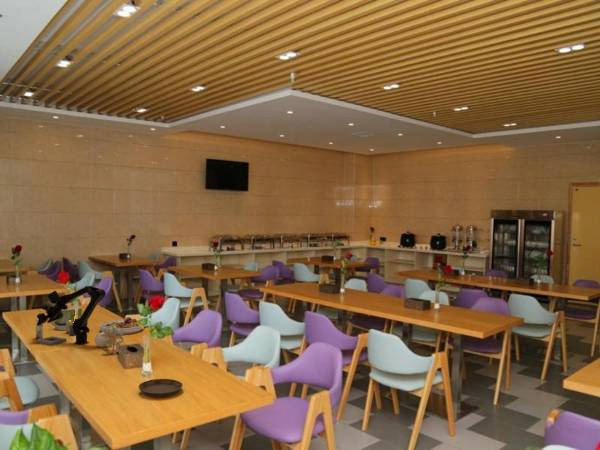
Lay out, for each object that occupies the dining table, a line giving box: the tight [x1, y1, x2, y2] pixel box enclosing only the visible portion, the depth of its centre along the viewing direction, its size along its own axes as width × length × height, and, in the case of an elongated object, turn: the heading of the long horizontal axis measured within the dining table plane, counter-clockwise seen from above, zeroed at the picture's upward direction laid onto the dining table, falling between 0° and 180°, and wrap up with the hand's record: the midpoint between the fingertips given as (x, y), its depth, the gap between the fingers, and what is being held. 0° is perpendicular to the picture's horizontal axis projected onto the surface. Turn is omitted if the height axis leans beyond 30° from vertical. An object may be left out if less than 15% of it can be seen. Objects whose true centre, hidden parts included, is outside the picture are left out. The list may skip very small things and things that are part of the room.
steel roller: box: [35, 319, 44, 340], centre depth 338 cm, size 4×4×12 cm
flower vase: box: [94, 324, 124, 355], centre depth 316 cm, size 13×18×25 cm
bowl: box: [99, 316, 143, 335], centre depth 367 cm, size 30×30×8 cm
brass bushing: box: [65, 320, 73, 335], centre depth 355 cm, size 4×4×9 cm
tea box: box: [54, 306, 83, 332], centre depth 369 cm, size 15×10×15 cm, turn 143°
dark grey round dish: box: [36, 335, 67, 347], centre depth 328 cm, size 12×12×2 cm
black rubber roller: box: [69, 324, 76, 337], centre depth 349 cm, size 4×4×7 cm
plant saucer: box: [138, 378, 183, 398], centre depth 246 cm, size 21×21×3 cm
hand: (42, 323), depth 337 cm, fingers open, 9 cm apart
